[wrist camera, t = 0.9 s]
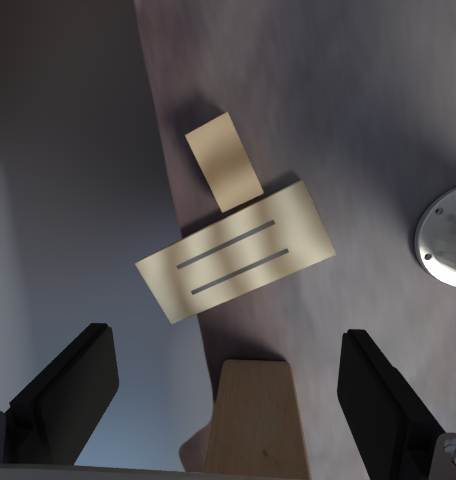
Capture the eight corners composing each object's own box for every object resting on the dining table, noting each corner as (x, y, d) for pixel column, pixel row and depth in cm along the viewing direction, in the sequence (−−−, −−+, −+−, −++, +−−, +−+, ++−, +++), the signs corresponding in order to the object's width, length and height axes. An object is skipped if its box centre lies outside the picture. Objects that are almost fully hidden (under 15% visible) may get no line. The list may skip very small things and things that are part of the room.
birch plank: (300, 179, 32) (303, 180, 31) (332, 250, 34) (336, 254, 33) (139, 260, 37) (134, 263, 36) (174, 318, 39) (171, 324, 38)
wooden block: (291, 358, 39) (325, 543, 19) (289, 414, 41) (319, 628, 22) (222, 356, 40) (191, 528, 21) (225, 410, 42) (199, 611, 23)
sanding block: (195, 140, 33) (184, 135, 28) (231, 120, 32) (227, 111, 27) (227, 207, 34) (222, 212, 30) (262, 190, 33) (264, 193, 29)
